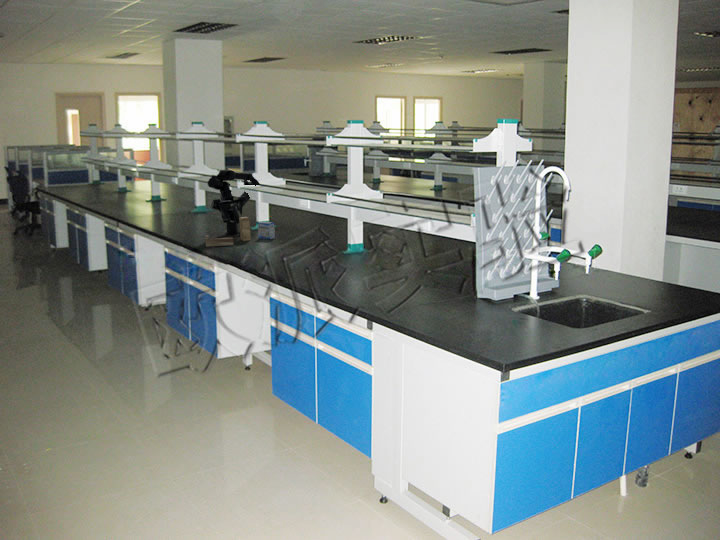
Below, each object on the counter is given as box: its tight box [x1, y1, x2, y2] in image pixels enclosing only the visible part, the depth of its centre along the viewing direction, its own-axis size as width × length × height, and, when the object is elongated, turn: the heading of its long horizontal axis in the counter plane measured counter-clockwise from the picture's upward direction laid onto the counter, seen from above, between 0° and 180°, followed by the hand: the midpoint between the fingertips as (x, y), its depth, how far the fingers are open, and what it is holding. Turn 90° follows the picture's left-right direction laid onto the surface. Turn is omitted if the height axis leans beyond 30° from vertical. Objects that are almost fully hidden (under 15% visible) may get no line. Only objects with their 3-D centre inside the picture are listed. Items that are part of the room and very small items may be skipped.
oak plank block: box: [239, 216, 251, 242], centre depth 368 cm, size 4×4×12 cm
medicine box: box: [257, 221, 276, 240], centre depth 372 cm, size 8×4×9 cm, turn 62°
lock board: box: [204, 234, 235, 248], centre depth 361 cm, size 14×14×4 cm
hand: (233, 215), depth 373 cm, fingers open, 9 cm apart
